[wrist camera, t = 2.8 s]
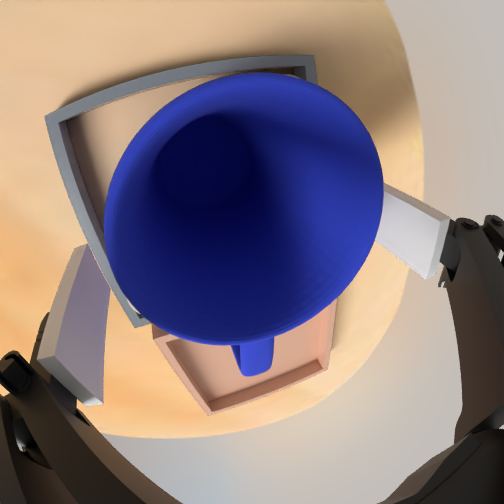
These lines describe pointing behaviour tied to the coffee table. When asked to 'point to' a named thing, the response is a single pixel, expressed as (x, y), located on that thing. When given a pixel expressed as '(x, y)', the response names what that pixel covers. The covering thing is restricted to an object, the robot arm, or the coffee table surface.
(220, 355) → the terracotta dish
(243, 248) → the mug
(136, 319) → the slate bin
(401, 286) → the coffee table surface
